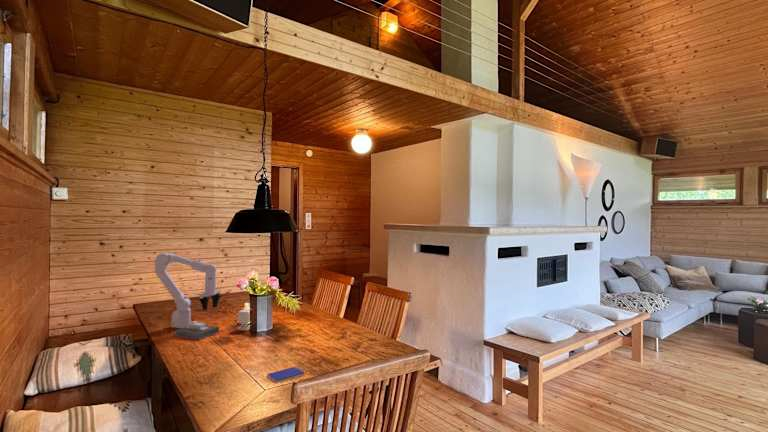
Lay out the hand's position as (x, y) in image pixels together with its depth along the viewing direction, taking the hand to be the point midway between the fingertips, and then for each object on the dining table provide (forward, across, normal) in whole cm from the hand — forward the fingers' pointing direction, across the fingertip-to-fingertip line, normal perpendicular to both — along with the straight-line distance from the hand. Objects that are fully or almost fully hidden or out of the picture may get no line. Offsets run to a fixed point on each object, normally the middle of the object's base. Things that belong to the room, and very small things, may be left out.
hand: (209, 308), depth 229 cm
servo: (+9, -17, -8) cm, 20 cm away
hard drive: (+10, -45, -81) cm, 93 cm away
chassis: (+9, -17, -8) cm, 21 cm away
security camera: (+10, +2, -23) cm, 25 cm away
